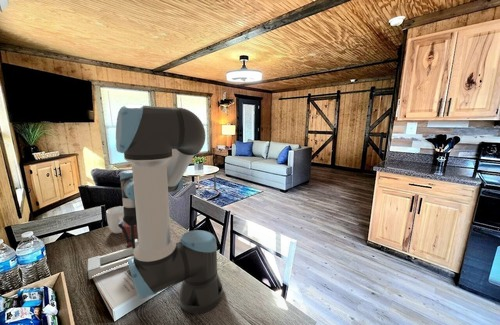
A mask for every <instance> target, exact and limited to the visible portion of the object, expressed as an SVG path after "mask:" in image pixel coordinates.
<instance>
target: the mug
mask: <svg viewBox="0 0 500 325" xmlns="http://www.w3.org/2000/svg"><path fill="white" fill-rule="evenodd" d="M123 207H124V206H123V205H122V206H121V205H119V206H114V207H110V208H108V209H107V210H106V211H105V212H106V213H105V214H106V221H107V225H108V227H109V230H110V231H111V232H112V233H113V234H122V229H121V228H120V227H119V226H118V222H121V221H122V220H123V217H124V210H123ZM124 223H125V222H124Z"/></svg>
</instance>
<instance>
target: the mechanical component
mask: <svg viewBox="0 0 500 325" xmlns="http://www.w3.org/2000/svg"><path fill="white" fill-rule="evenodd" d="M124 224H125V225H124V227H125V229H126V232H127V234H128V236H129V238H131V234H130V226H129V225H128V224H127V223H124ZM121 235H122V236H123V237H125V236H124V233H123V231H122V233H121ZM134 237H135V239H137V230H136V225H134ZM125 243H126V245H127V247H132V244H131V242H127V240H126V239H125Z"/></svg>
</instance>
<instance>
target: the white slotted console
mask: <svg viewBox="0 0 500 325" xmlns="http://www.w3.org/2000/svg"><path fill="white" fill-rule="evenodd" d="M134 249H135V248H134ZM134 249H133V248H132V246H129V247H127V248H124V249H120V250H117V251H114V252H110V253H107V254H103V255H97V256H92V257H90V258H87V274H88V280H91V279H93V278H92V276H94V275H96V274H98V273H101V272H103V271H106V270H109V269H111V268H114V267H116V266H119V265H122V264H124V263H127V262H128V260H129V259H130V258H132V257H134V254H133V252H134ZM125 257H126V258H125ZM116 260H117V261H116Z"/></svg>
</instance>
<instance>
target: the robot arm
mask: <svg viewBox="0 0 500 325" xmlns="http://www.w3.org/2000/svg"><path fill="white" fill-rule="evenodd" d="M205 142H206V129H205V127H204V123H203V122H202V120H201V119H200V118H199V116H198V115H196V114H195V113H194V112H192V111H190V110H188V109H187V108H183V107H176V106H175V107H169V106H157V105H156V106H155V105H146V104H145V105H143V104H140V105H139V104H137V105H136V104H135V105H133V104H132V105H131V104H130V105H124V106H122V107H120V109H119V111H118V113H117V117H116V126H115V147H116V151H117V152H118V153H121V154H123V157H124V160H125V161H126V162H128V163H129V164H131V169H129V170H123V171H121V172H120V173H119V176H120V177H119V178H120V179H119V181H120V187H121V194H122V195H121V197H122V206H124V207H123V210H124V217H123V220H122V221H121V222H118V226H119V227H120V228H121V229H122V231H123V233H124V236H123V237H124V238H125V241H126V240H127V242H131V244H132V246H131V247H132V248H133V249H134V248H135V249H134V252H133V254H132V255H133V256H134V257H132V258H130V259H129V260H128V264H129V266H128V268H129V270H130V276H131V278H132V281H133V285H134V289H135V292H136V295H137V297H138V298H141V299H146V298H149V297H151V296H155V295H157V294H158V293H159V292H162V291H164V290H166V289H168V288H171V287H173V286H175V285H177V284H179V283H181V285H180V287H179V288H180V289H179V291H178V292H179V293H178V302H179V306H180V308H181V309H182V310H183V311H184V312H187V313H189V314H196V315H197V314H203V313H206V312H209V311H211V310H213V309H214V308H215V307H216V306H218V304H219V303H221V300H222V298H223V294H224V293H223V292H224V291H223V290H224V289H223V283H222V281H221V278H220V277H219V274H218V251H217V250H218V246H217V245H218V244H217V239H216V237H215V235H214V234H213V233H211V232H209V231H207V230H201V229H199V230H198V229H197V230H196V229H194V230H189V231H186V232H185V233H183V234H182V235H181V236H180V240H179V241H178V242H176V239H174V238H172V237H171V219H170V202H169V193H175V192H178V191H181V190H182V189H183V188H184V180H183V176H184V174H185V173H186V171H187V169H188V167H189V165H191V162H192V160H193V158H194V157H195V156H196V155H198V154H199V153H200V152H201V150H202V149H203V147H204V145H205ZM124 222H125V223H127V224H128V225H129V226H130V234H131V238H129V236H128V234H127V232H126V229H125V227H124V225H125V224H124ZM134 225H136V230H137V239H135V237H134Z"/></svg>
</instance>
